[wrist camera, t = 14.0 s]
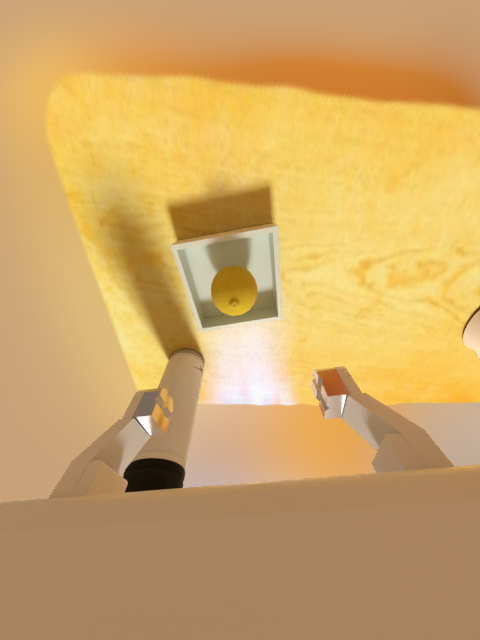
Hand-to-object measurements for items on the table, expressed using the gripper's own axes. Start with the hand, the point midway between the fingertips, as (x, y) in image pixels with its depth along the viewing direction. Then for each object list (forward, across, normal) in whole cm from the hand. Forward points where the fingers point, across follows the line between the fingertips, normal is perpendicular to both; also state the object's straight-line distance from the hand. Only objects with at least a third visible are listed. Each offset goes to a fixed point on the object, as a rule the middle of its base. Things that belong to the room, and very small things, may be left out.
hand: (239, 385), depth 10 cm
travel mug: (+18, +12, +15) cm, 26 cm away
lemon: (+18, +1, 0) cm, 18 cm away
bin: (+19, +1, 0) cm, 19 cm away
